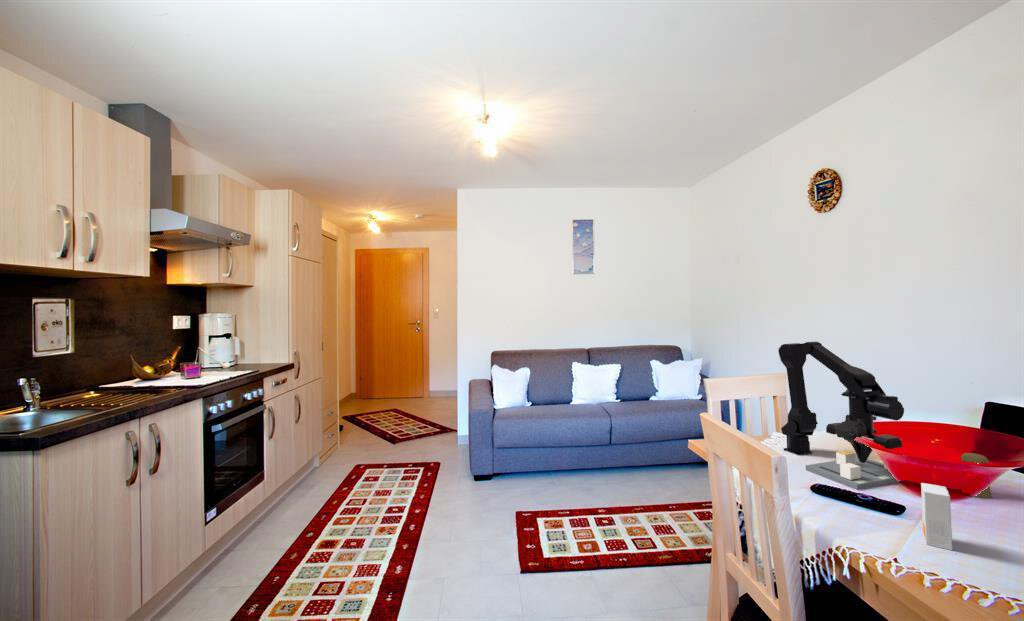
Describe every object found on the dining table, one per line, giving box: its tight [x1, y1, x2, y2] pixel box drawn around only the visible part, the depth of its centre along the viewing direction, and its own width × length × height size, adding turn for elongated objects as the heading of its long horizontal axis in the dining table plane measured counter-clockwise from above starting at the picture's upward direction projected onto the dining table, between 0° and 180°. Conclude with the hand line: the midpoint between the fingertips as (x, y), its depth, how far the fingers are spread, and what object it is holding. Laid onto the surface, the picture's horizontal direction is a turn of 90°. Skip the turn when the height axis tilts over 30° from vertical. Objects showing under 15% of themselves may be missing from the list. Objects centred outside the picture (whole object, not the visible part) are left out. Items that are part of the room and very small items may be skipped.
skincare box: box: [920, 482, 953, 551], centre depth 94 cm, size 6×4×12 cm
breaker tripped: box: [835, 450, 856, 464], centre depth 136 cm, size 3×4×4 cm
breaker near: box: [840, 463, 861, 480], centre depth 126 cm, size 3×4×4 cm
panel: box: [805, 456, 899, 491], centre depth 132 cm, size 16×24×2 cm, turn 105°
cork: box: [960, 452, 993, 500], centre depth 117 cm, size 6×6×11 cm
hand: (862, 462), depth 131 cm, fingers closed
